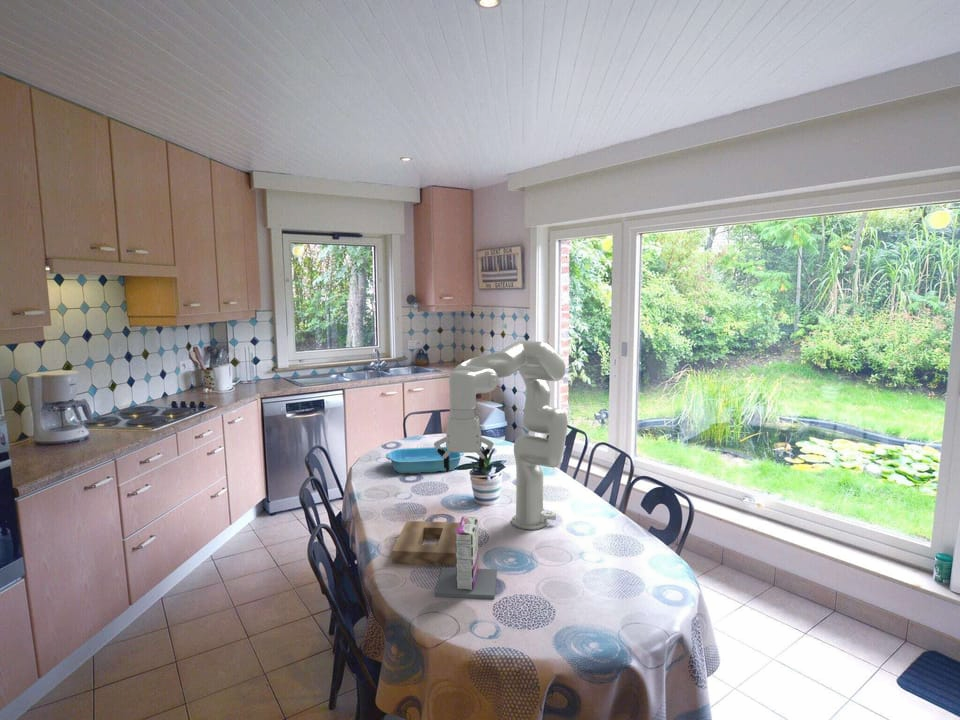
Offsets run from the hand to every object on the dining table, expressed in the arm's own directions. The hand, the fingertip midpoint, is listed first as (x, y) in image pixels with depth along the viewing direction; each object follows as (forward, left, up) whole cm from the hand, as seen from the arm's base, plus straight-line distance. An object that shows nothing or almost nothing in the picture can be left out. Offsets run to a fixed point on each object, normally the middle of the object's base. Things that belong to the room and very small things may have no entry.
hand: (464, 470), depth 160 cm
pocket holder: (+12, -12, -30) cm, 34 cm away
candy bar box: (-2, +9, -29) cm, 31 cm away
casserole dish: (+28, -93, -30) cm, 102 cm away
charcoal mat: (-2, +9, -30) cm, 31 cm away
